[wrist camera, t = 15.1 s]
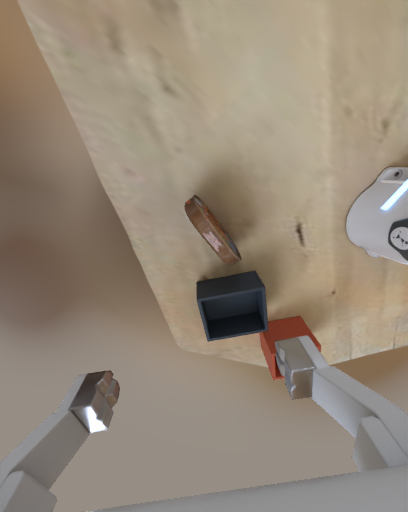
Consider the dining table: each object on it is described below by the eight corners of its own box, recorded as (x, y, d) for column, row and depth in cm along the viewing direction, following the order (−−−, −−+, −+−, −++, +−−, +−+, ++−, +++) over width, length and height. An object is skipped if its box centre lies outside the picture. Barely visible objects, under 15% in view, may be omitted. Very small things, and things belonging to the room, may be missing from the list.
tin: (238, 248, 43) (247, 265, 35) (226, 256, 44) (233, 275, 36) (195, 191, 38) (195, 197, 30) (183, 201, 39) (179, 210, 31)
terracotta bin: (300, 315, 52) (329, 357, 40) (299, 340, 55) (327, 385, 44) (258, 323, 52) (276, 366, 41) (261, 347, 56) (278, 393, 45)
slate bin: (255, 270, 46) (265, 286, 39) (259, 310, 51) (268, 330, 44) (196, 281, 46) (196, 299, 40) (206, 320, 51) (207, 341, 45)
